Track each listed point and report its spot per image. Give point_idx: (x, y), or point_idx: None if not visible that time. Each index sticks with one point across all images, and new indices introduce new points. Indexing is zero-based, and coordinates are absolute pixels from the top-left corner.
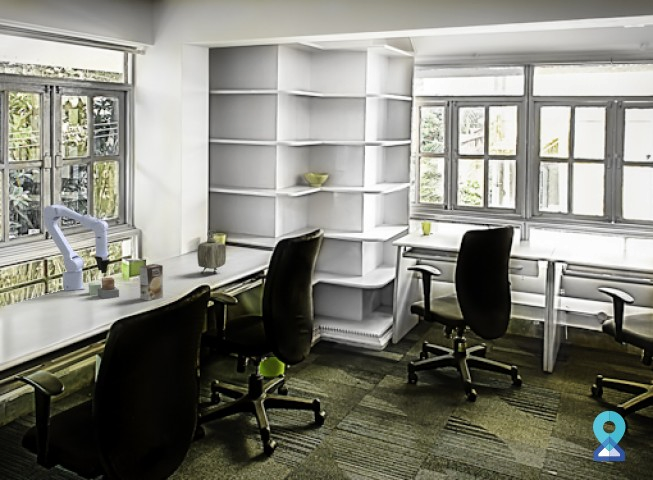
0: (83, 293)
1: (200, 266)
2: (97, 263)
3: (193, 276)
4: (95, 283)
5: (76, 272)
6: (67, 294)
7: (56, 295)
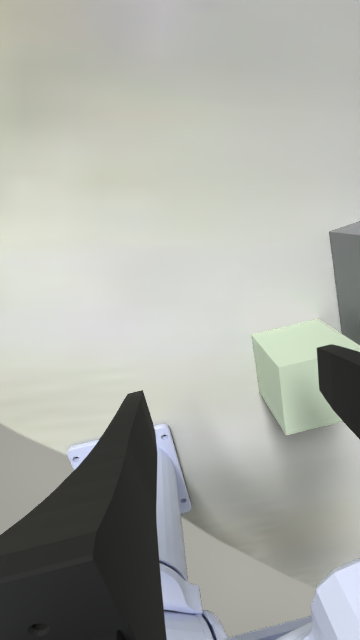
0: (266, 418)
1: None
2: (155, 523)
3: None
4: (313, 389)
5: (190, 584)
6: (264, 486)
7: (269, 525)
